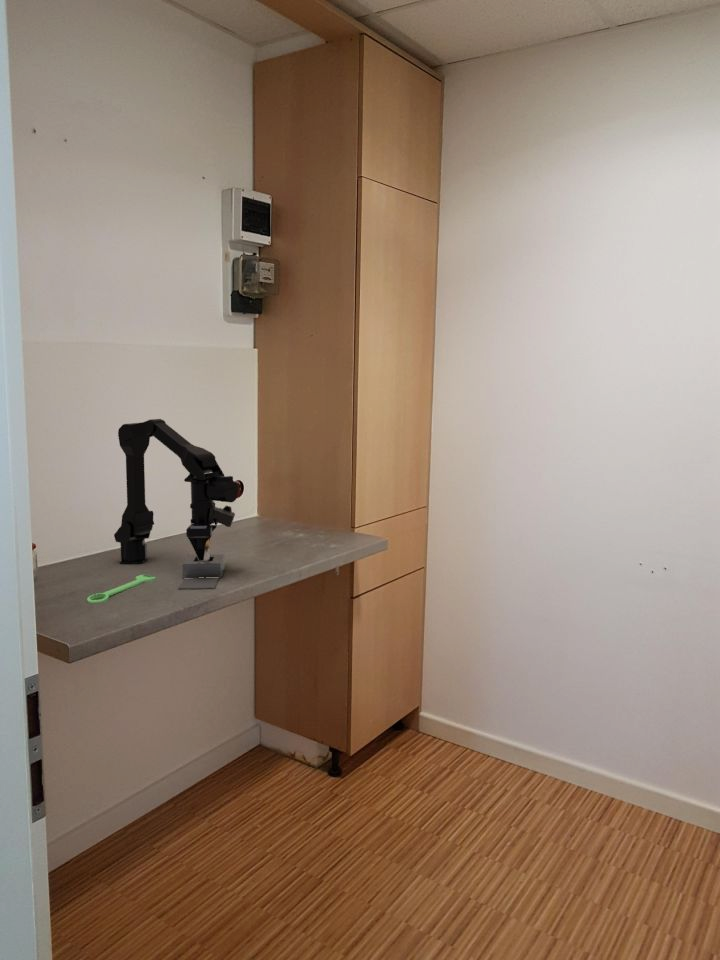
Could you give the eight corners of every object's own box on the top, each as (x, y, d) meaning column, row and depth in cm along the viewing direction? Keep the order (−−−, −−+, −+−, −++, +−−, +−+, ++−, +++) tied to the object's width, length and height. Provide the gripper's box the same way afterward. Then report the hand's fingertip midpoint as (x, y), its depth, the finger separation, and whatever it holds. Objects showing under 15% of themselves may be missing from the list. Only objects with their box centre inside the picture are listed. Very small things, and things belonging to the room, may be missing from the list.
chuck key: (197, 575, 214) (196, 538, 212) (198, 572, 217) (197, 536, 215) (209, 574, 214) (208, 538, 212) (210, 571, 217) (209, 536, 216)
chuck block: (182, 578, 210) (182, 563, 209) (188, 569, 220) (187, 554, 219) (220, 578, 211) (220, 563, 210) (224, 568, 221) (224, 554, 220)
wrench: (160, 581, 211) (143, 579, 213) (160, 574, 211) (143, 572, 213) (100, 606, 188) (82, 603, 189) (100, 598, 187) (81, 595, 189)
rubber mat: (178, 589, 200) (178, 588, 200) (183, 580, 209) (183, 578, 208) (214, 589, 200) (214, 587, 200) (218, 579, 209) (218, 578, 209)
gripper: (229, 504, 204) (230, 564, 206) (235, 493, 222) (236, 547, 224) (185, 505, 203) (187, 564, 205) (195, 493, 221) (196, 548, 224)
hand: (203, 556), depth 215 cm, fingers open, 9 cm apart
